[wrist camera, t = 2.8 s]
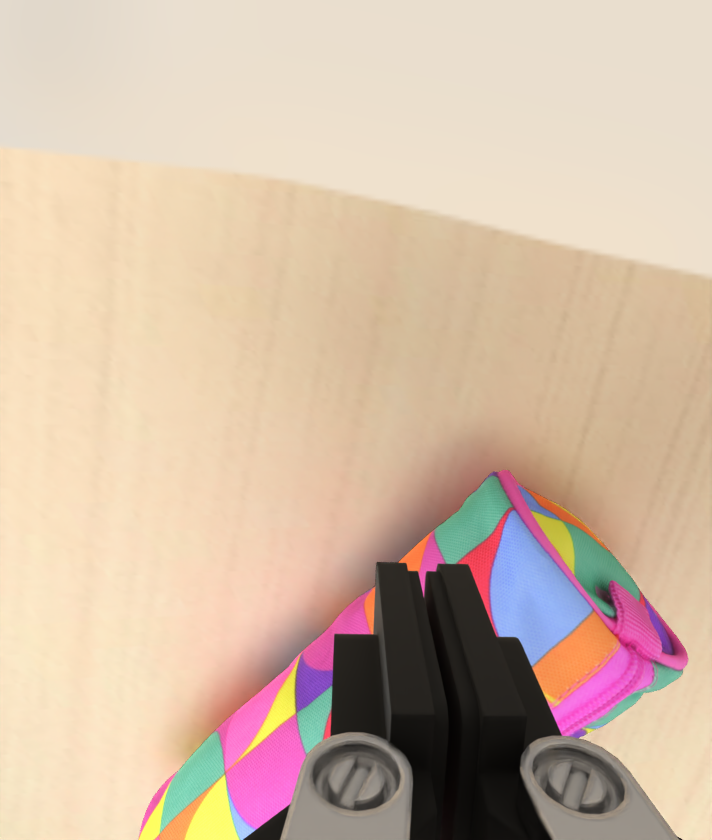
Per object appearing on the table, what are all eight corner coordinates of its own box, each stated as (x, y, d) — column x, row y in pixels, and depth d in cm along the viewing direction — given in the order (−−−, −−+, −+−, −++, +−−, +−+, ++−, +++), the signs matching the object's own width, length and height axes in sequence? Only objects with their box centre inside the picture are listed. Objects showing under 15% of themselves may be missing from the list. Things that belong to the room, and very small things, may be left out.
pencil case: (308, 868, 31) (288, 1113, 22) (150, 764, 29) (62, 983, 20) (639, 559, 26) (777, 712, 18) (474, 418, 25) (538, 509, 16)
